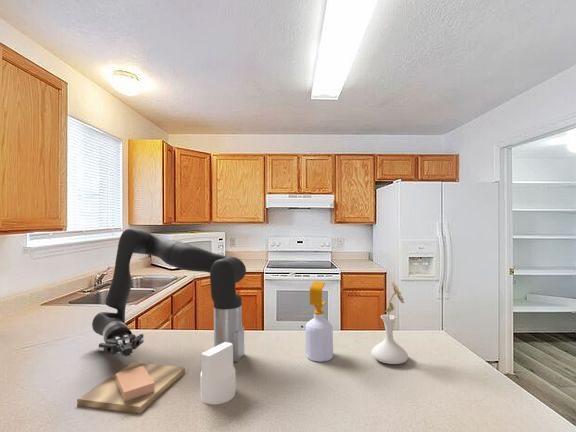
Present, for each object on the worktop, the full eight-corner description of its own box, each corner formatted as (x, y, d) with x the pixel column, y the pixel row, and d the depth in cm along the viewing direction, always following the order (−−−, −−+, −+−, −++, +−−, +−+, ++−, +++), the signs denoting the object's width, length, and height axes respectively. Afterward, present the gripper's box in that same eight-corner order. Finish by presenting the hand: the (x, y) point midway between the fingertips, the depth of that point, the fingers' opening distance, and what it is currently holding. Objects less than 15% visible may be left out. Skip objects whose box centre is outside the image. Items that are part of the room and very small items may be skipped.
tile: (115, 373, 84) (124, 392, 74) (143, 365, 88) (154, 382, 79) (115, 382, 84) (124, 402, 74) (143, 374, 88) (154, 392, 79)
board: (185, 372, 92) (184, 367, 92) (140, 413, 73) (140, 406, 73) (133, 367, 96) (133, 362, 96) (77, 405, 76) (77, 398, 76)
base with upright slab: (218, 408, 74) (217, 359, 74) (193, 397, 79) (192, 351, 79) (242, 390, 82) (241, 345, 82) (218, 381, 87) (217, 339, 87)
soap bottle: (336, 352, 104) (335, 281, 105) (328, 364, 96) (326, 286, 96) (311, 348, 108) (310, 279, 108) (302, 359, 100) (300, 284, 100)
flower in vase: (399, 371, 90) (397, 287, 91) (365, 360, 98) (363, 282, 99) (415, 357, 100) (414, 280, 100) (383, 347, 108) (381, 277, 108)
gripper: (93, 328, 97) (101, 345, 83) (138, 319, 105) (152, 333, 91) (93, 352, 97) (101, 373, 83) (138, 341, 105) (152, 358, 91)
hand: (127, 352), depth 87 cm, fingers closed
